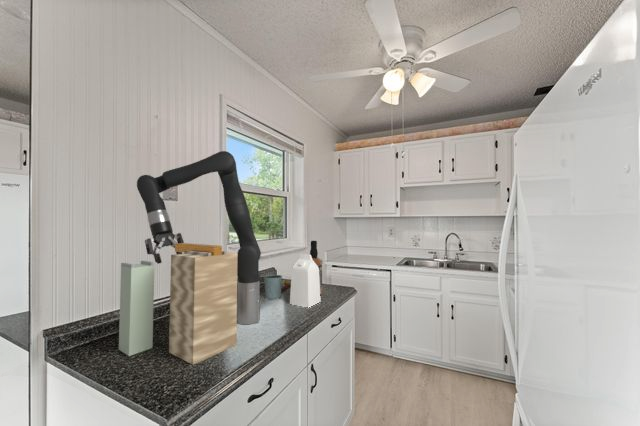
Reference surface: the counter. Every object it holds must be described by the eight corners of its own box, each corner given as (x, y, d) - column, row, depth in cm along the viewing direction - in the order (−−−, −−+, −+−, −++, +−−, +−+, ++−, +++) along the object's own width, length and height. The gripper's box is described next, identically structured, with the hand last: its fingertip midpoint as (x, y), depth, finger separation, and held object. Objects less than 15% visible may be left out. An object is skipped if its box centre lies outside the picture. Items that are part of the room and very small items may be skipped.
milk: (320, 302, 145) (320, 254, 146) (308, 308, 135) (308, 256, 136) (302, 299, 151) (302, 252, 152) (289, 304, 142) (289, 254, 143)
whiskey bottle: (320, 296, 157) (320, 241, 158) (303, 295, 159) (303, 241, 160) (323, 292, 167) (323, 240, 168) (307, 291, 169) (308, 240, 170)
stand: (168, 352, 89) (171, 251, 90) (212, 335, 102) (213, 248, 103) (193, 364, 81) (195, 254, 82) (236, 345, 94) (237, 250, 96)
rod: (174, 251, 101) (175, 243, 101) (182, 250, 104) (182, 242, 104) (213, 255, 88) (214, 246, 88) (221, 254, 90) (221, 245, 90)
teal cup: (280, 299, 150) (280, 278, 150) (262, 299, 150) (262, 278, 151) (282, 295, 160) (283, 274, 161) (266, 294, 160) (266, 274, 161)
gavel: (287, 289, 162) (271, 288, 164) (287, 296, 162) (271, 295, 165) (298, 279, 182) (284, 279, 185) (298, 286, 183) (284, 285, 185)
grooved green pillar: (118, 349, 91) (121, 262, 92) (141, 342, 97) (143, 260, 98) (128, 356, 86) (131, 265, 87) (152, 347, 92) (154, 262, 93)
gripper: (171, 222, 120) (181, 258, 119) (136, 227, 107) (147, 266, 106) (181, 218, 116) (191, 254, 115) (146, 222, 104) (157, 263, 103)
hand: (170, 260), depth 111 cm, fingers open, 8 cm apart
